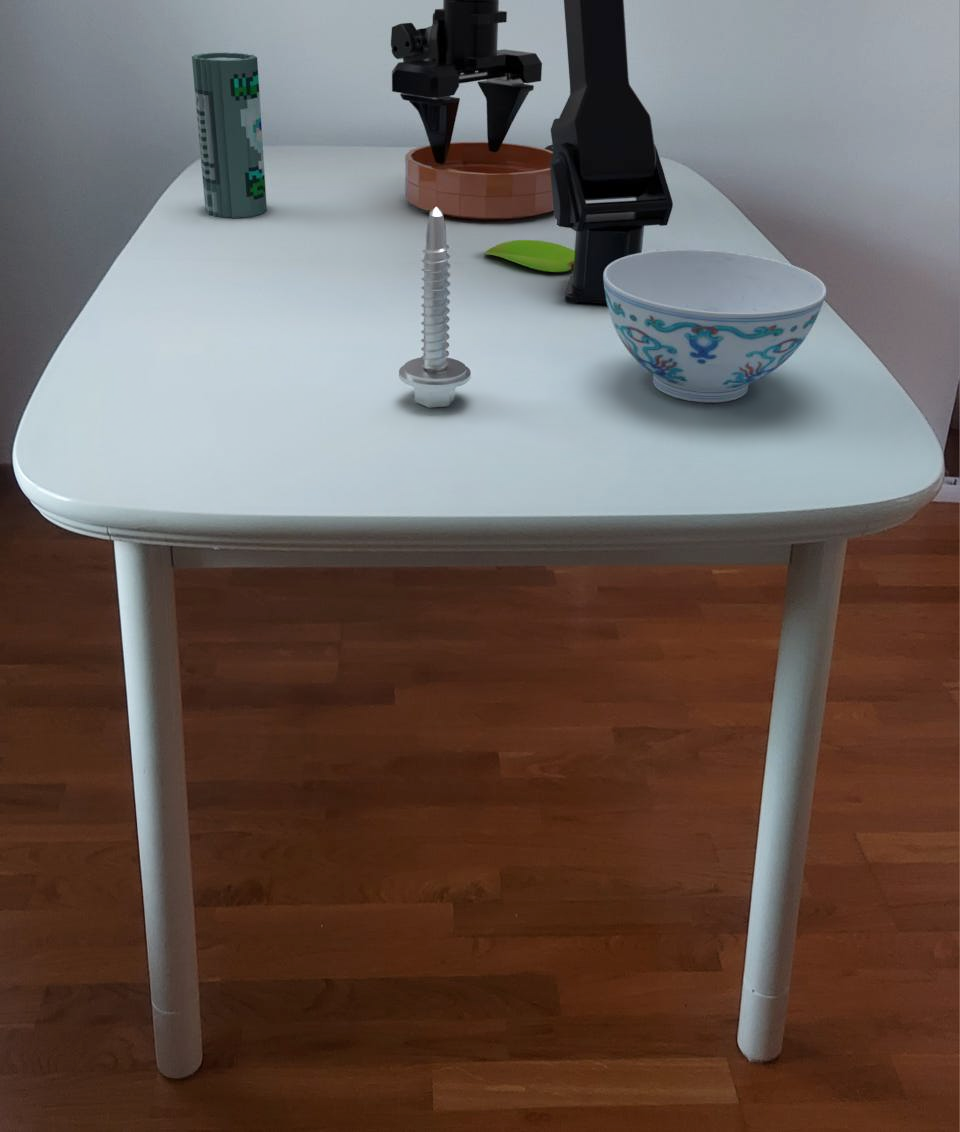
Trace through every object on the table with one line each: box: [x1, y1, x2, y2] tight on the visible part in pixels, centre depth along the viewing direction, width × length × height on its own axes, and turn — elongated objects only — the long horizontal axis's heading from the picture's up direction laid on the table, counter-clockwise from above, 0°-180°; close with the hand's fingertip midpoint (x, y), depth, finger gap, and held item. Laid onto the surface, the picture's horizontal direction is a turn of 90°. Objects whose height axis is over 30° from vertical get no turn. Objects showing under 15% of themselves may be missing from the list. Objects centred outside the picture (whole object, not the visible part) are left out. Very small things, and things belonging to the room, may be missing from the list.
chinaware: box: [603, 248, 827, 404], centre depth 82 cm, size 15×15×8 cm
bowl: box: [404, 141, 554, 221], centre depth 128 cm, size 17×17×5 cm
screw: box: [398, 207, 472, 409], centre depth 77 cm, size 13×5×5 cm
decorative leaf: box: [483, 239, 575, 273], centre depth 110 cm, size 8×9×1 cm
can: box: [191, 52, 268, 219], centre depth 120 cm, size 6×6×15 cm
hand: (467, 157), depth 129 cm, fingers open, 9 cm apart
